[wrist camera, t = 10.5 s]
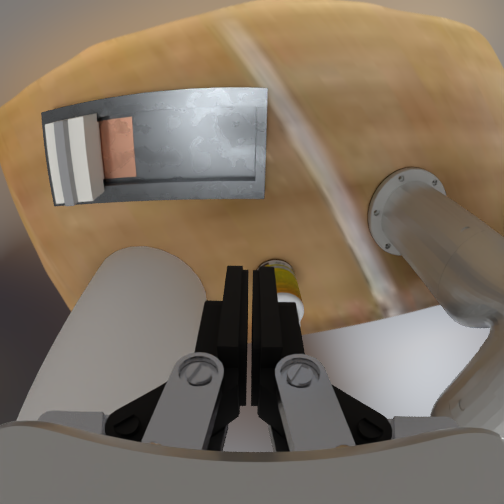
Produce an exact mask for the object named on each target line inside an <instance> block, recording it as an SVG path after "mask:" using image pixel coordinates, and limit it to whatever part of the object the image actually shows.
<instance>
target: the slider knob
mask: <svg viewBox="0 0 504 504" xmlns="http://www.w3.org/2000/svg"><path fill="white" fill-rule="evenodd" d="M45 132H46V142H47V150H48V158H49V165H50V172H51V178H52V184H53V189H54V195H55V200H56V204H61V203H65V206H74V205H75V204H77V203H78V202H86V201H94V200H95V199H96V198H97V197H98V196H99V195H101V194H102V193H103V192H104V184H103V179H104V171H103V162H102V153H101V142H100V130H99V122H97V113H96V114H90V115H85V116H79V117H74V118H69V119H65V120H60V121H56V122H52V123H49V124H45Z"/></svg>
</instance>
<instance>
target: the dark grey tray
mask: <svg viewBox="0 0 504 504" xmlns="http://www.w3.org/2000/svg"><path fill="white" fill-rule="evenodd" d="M267 93H268V88H197V89H181V90H168V91H157V92H148V93H140V94H132V95H125V96H118V97H112V98H106V99H100V100H95V101H89V102H84V103H79V104H75V105H70V106H66V107H62V108H57V109H53V110H49V111H46V112H42V113H41V115H42V127H43V137H44V146H45V154H46V162H47V168H48V175H49V181H50V186H51V192H52V197H53V202H54V206H64V205H65V203H61V204H56V200H55V195H54V189H53V184H52V178H51V172H50V165H49V158H48V150H47V142H46V132H45V124H49V123H52V122H56V121H60V120H65V119H69V118H74V117H79V116H85V115H90V114H96V113H97V122H99V130H100V142H101V153H102V162H103V171H104V179H103V184H104V192H103V193H102V194H101V195H99V196H98V197H97V198H96V199H95V200H94V201H86V202H78V203H77V204H92V203H108V202H126V201H149V200H180V199H264V191H265V161H266V129H267ZM77 204H75V205H77Z"/></svg>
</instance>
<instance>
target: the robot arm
mask: <svg viewBox="0 0 504 504" xmlns="http://www.w3.org/2000/svg"><path fill="white" fill-rule="evenodd" d="M399 176H400V177H399ZM374 211H375V212H374ZM368 224H369V230H370V232H371V235H372V237H373V238H374V240H375V242H376V243H377V244H378V245H379V246H380V247H381V248H382V249H383V250H384V251H386V252H388V253H390V254H394V255H402V256H403V257H404V259H405V260H406V261H407V262H408V264H409V265H410V266H411V267H412V268H413V270H414V271H415V272H416V273H417V275H418V276H419V277H420V278H421V280H422V281H423V282H424V284H425V285H426V286H427V287H428V289H429V290H430V291H431V293H432V294H433V295H434V297H435V298H436V299H437V301H438V302H439V303H440V305H441V306H442V307H443V308H444V310H445V311H446V312H447V314H448V315H449V316H450V317H451V318H452V319H453V320H454V321H456V322H457V323H459V324H461V325H463V326H467V327H471V328H490V334H489V336H488V338H487V339H486V340H485V342H484V344H483V345H482V346H481V347H480V349H479V351H478V352H477V353H476V354H475V356H474V357H473V358H472V359H471V361H470V362H469V363H468V364H467V365H466V367H465V368H464V369H463V370H462V371H461V372H460V373H459V374H458V376H457V377H456V378H455V379H454V380H453V381H452V383H451V384H450V385H449V386H448V387H447V388H446V389H445V390H444V392H443V393H442V394H441V395H440V397H439V398H438V399H437V401H436V403H435V404H434V406H433V409H432V412H431V416H430V417H400V416H395V417H394V418H393V419H387V418H386V417H384V416H383V415H381V414H380V413H378V412H377V411H375V410H373V409H371V408H370V407H368V406H366V405H365V404H363V403H361V402H360V401H358V400H356V399H355V398H353V397H351V396H350V395H348V394H346V393H345V392H343V391H341V390H340V389H338V388H337V387H335V386H333V385H332V384H331V382H330V380H329V378H328V375H327V373H326V370H325V368H324V366H323V365H322V363H321V362H319V361H318V360H317V359H316V358H314V357H312V356H309V355H305V353H304V348H303V341H302V335H301V329H300V323H299V318H298V312H297V306H296V303H295V302H278V297H277V287H276V278H275V269H274V267H272V266H259V270H253V299H252V370H251V375H252V376H251V379H252V380H251V406H258V415H259V417H260V418H261V419H262V420H263V421H265V422H266V423H267V424H268V429H269V434H270V438H271V443H272V447H273V452H225V451H223V447H224V443H225V439H226V435H227V431H228V424H229V423H230V422H231V421H233V420H234V419H235V418H237V417H238V415H239V412H240V410H239V409H240V406H246V383H247V336H248V270H243V266H227V273H226V280H225V288H224V295H223V301H205V303H204V307H203V312H202V317H201V322H200V327H199V332H198V337H197V342H196V347H195V352H194V353H190V354H188V355H185V356H183V357H182V358H180V359H179V360H178V361H177V362H176V364H175V365H174V367H173V369H172V372H171V374H170V376H169V378H168V381H167V382H165V383H164V384H162V385H160V386H159V387H157V388H155V389H153V390H151V391H150V392H148V393H146V394H144V395H143V396H141V397H139V398H137V399H135V400H134V401H132V402H130V403H128V404H126V405H124V406H123V407H121V408H119V409H117V410H115V411H114V412H113V413H111V414H110V415H105V414H104V413H103V412H80V411H55V410H53V411H47V412H45V413H43V414H42V415H41V416H40V417H39V418H38V420H37V421H14V422H8V423H5V424H2V425H0V504H504V237H503V236H502V235H500V234H499V233H497V232H496V231H495V230H493V229H492V228H491V227H489V226H488V225H487V224H485V223H484V222H483V221H481V220H480V219H479V218H477V217H476V216H475V215H473V214H472V213H470V212H469V211H468V210H466V209H465V208H463V207H462V206H460V205H459V204H457V203H456V202H455V201H453V200H452V199H450V198H449V197H447V196H446V192H445V189H444V187H443V185H442V183H441V182H440V180H439V179H438V178H437V177H436V176H435V175H434V174H432V173H430V172H428V171H426V170H424V169H421V168H416V167H411V168H404V169H401V170H398V171H396V172H395V173H393V174H391V175H390V176H389V177H387V178H386V179H385V180H384V181H383V182H382V183H381V184H380V186H379V187H378V188H377V190H376V192H375V193H374V195H373V198H372V200H371V203H370V207H369V211H368Z"/></svg>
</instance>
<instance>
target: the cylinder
mask: <svg viewBox="0 0 504 504" xmlns="http://www.w3.org/2000/svg"><path fill="white" fill-rule="evenodd" d="M205 301H206V292H205V290H204V287H203V285H202V283H201V280H200V279H199V277H198V276H197V275H196V274H195V272H194V271H193V270H192V269H191V267H189V266H188V265H187V264H186V263H184V262H183V261H182V260H180V259H179V258H178V257H176V256H174V255H172V254H170V253H168V252H165V251H163V250H160V249H156V248H151V247H147V246H138V247H128V248H124V249H121V250H118V251H116V252H114V253H113V254H111V255H110V256H109V257H107V258H106V259H105V260H104V262H103V263H102V265H101V266H100V267H99V269H98V270H97V272H96V273H95V275H94V276H93V278H92V280H91V281H90V283H89V284H88V286H87V287H86V289H85V291H84V292H83V294H82V295H81V297H80V299H79V300H78V302H77V303H76V305H75V307H74V308H73V310H72V312H71V314H70V315H69V317H68V319H67V320H66V322H65V324H64V326H63V327H62V329H61V331H60V333H59V334H58V336H57V338H56V340H55V342H54V343H53V345H52V347H51V349H50V351H49V353H48V355H47V357H46V359H45V360H44V362H43V364H42V366H41V368H40V370H39V372H38V374H37V376H36V378H35V380H34V382H33V385H32V387H31V389H30V391H29V393H28V395H27V397H26V400H25V402H24V404H23V406H22V409H21V411H20V413H19V416H18V418H17V421H37V420H38V418H39V417H40V416H41V415H42V414H43V413H45V412H47V411H53V410H55V411H80V412H103V413H104V414H105V415H110V414H111V413H113V412H114V411H115V410H117V409H119V408H121V407H123V406H124V405H126V404H128V403H130V402H132V401H134V400H135V399H137V398H139V397H141V396H143V395H144V394H146V393H148V392H150V391H151V390H153V389H155V388H157V387H159V386H160V385H162V384H164V383H165V382H167V381H168V378H169V376H170V374H171V372H172V369H173V367H174V365H175V364H176V362H177V361H178V360H179V359H180V358H182V357H183V356H185V355H188V354H190V353H194V352H195V347H196V342H197V337H198V332H199V327H200V322H201V317H202V312H203V307H204V303H205Z"/></svg>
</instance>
